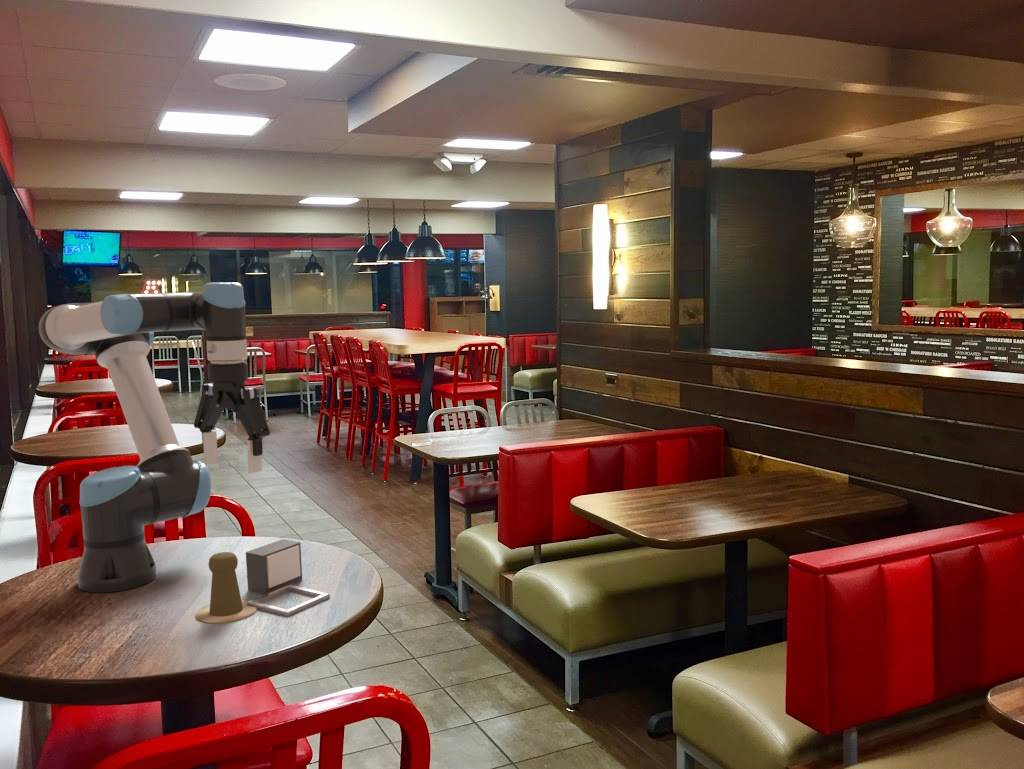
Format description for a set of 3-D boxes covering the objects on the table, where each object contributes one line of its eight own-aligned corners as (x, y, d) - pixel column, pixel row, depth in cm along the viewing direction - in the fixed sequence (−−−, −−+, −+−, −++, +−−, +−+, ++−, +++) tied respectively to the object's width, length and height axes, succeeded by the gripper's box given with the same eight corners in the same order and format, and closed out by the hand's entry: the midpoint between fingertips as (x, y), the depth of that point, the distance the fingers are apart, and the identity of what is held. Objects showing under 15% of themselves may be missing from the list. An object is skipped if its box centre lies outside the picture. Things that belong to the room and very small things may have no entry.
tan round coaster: (183, 616, 165) (182, 614, 165) (230, 597, 174) (230, 596, 174) (222, 627, 159) (222, 625, 159) (269, 607, 168) (269, 606, 168)
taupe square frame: (246, 606, 169) (246, 602, 169) (289, 588, 179) (289, 584, 178) (287, 616, 163) (287, 612, 163) (329, 597, 173) (329, 593, 173)
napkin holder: (248, 590, 178) (245, 552, 177) (285, 576, 186) (283, 539, 185) (266, 595, 175) (264, 556, 174) (303, 580, 183) (301, 542, 182)
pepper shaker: (203, 615, 164) (199, 558, 163) (219, 603, 170) (216, 548, 169) (232, 617, 163) (229, 559, 162) (248, 605, 169) (245, 549, 167)
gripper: (171, 359, 177) (178, 463, 180) (254, 366, 163) (259, 479, 166) (203, 356, 183) (209, 456, 186) (285, 363, 169) (290, 471, 172)
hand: (232, 467), depth 176 cm, fingers open, 13 cm apart
